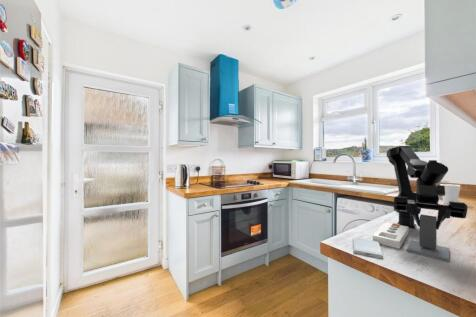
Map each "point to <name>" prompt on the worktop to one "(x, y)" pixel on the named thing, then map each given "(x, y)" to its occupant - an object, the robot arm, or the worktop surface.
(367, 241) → the hard drive
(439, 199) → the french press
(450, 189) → the foam cup
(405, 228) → the power strip
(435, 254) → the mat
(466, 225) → the worktop surface
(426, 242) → the block
